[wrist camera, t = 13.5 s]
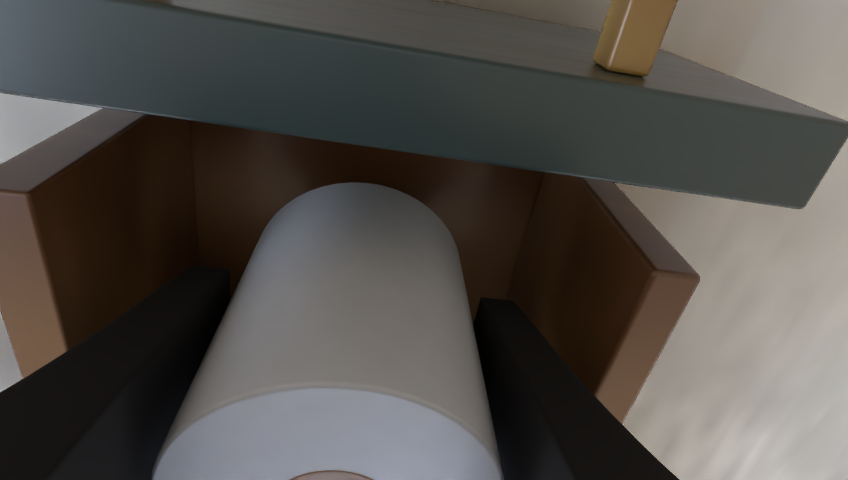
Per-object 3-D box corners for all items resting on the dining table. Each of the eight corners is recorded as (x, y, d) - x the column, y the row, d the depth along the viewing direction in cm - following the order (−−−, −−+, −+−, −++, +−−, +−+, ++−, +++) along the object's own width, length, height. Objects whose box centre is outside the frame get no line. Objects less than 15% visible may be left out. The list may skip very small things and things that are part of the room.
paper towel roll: (368, 378, 12) (352, 625, 8) (214, 279, 10) (80, 521, 6) (501, 270, 10) (575, 497, 6) (347, 135, 9) (300, 316, 4)
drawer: (87, -397, 8) (-728, -1298, 2) (725, -228, 10) (1249, -507, 4) (175, 393, 17) (60, 625, 11) (495, 419, 19) (541, 637, 13)
